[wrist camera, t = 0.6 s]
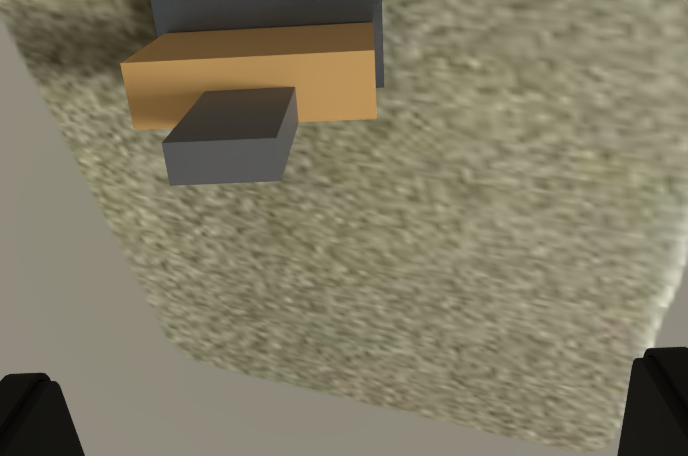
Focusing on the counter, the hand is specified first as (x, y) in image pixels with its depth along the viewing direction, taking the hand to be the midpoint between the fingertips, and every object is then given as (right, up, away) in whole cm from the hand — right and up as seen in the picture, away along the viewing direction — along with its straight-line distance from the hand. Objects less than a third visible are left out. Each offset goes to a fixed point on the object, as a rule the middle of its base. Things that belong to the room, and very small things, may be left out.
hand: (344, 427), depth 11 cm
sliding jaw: (-4, +12, +24) cm, 27 cm away
